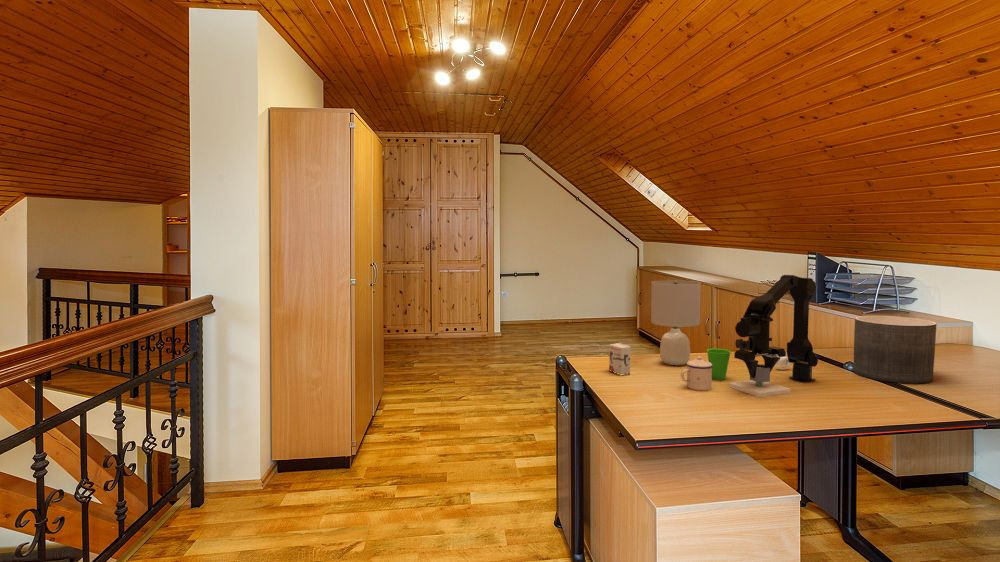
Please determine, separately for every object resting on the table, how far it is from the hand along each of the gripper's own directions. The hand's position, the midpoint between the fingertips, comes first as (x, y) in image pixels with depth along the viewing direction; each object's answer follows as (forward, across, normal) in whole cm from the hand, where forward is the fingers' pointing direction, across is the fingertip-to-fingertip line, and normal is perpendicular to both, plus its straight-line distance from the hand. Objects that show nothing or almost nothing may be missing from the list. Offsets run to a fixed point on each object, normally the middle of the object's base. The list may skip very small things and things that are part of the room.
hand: (759, 376), depth 187 cm
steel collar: (+1, 0, 0) cm, 1 cm away
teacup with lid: (+5, +19, -11) cm, 23 cm away
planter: (+5, -63, +5) cm, 63 cm away
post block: (+5, 0, 0) cm, 5 cm away
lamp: (+5, +2, -44) cm, 44 cm away
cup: (+5, +2, -18) cm, 19 cm away
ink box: (+5, +33, -40) cm, 52 cm away
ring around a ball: (+5, -32, -19) cm, 37 cm away
